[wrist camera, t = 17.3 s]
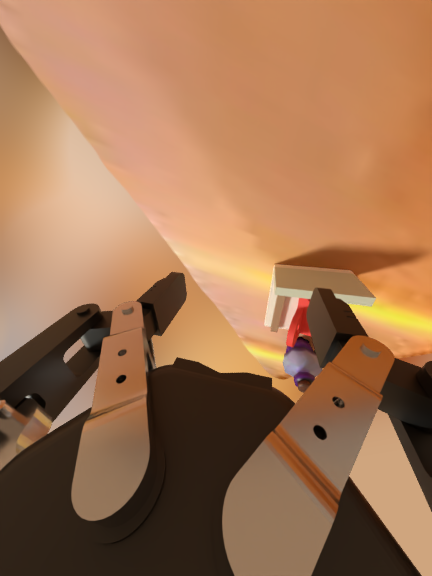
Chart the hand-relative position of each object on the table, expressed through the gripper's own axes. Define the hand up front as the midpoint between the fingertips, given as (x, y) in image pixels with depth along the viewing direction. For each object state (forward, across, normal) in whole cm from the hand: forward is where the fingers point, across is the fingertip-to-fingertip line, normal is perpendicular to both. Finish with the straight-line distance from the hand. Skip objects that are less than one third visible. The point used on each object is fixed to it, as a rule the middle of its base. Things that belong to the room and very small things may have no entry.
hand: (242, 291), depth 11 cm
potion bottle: (+26, -13, +31) cm, 43 cm away
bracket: (+24, -13, +18) cm, 33 cm away
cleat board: (+26, -11, +17) cm, 33 cm away
